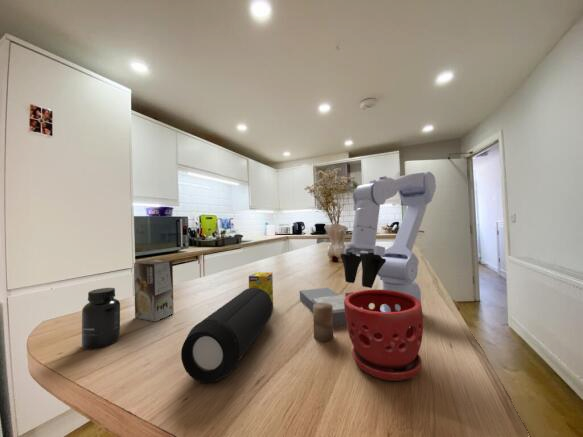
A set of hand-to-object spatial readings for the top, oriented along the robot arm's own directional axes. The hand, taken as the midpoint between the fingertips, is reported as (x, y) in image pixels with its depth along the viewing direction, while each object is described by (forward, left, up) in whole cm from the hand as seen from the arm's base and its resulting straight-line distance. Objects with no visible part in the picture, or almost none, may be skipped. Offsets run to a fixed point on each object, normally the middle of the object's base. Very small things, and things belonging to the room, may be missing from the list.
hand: (357, 284), depth 56 cm
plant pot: (+3, +13, -11) cm, 17 cm away
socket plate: (+1, -16, -11) cm, 19 cm away
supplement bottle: (+58, -14, -11) cm, 61 cm away
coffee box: (+51, -28, -11) cm, 59 cm away
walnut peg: (+9, 0, -11) cm, 14 cm away
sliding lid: (+1, -10, -8) cm, 13 cm away
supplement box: (+20, -22, -11) cm, 32 cm away
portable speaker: (+28, -2, -11) cm, 30 cm away
